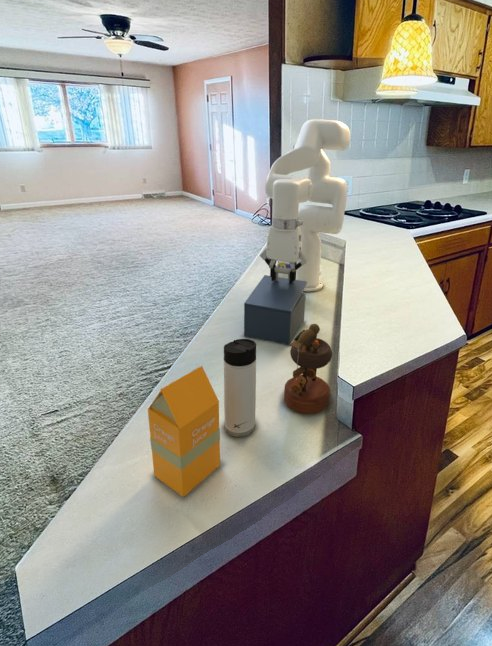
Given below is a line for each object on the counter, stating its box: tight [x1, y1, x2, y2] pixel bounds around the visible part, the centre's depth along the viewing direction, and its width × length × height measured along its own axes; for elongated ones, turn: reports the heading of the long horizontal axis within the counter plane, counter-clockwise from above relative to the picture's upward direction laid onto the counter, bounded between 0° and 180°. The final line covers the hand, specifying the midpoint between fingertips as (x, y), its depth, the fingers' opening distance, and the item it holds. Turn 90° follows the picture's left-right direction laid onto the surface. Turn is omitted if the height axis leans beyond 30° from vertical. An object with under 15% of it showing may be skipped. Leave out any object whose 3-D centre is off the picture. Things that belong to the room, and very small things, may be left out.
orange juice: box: [147, 365, 221, 498], centre depth 70 cm, size 8×9×20 cm
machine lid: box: [243, 267, 307, 313], centre depth 121 cm, size 17×14×6 cm
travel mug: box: [223, 338, 257, 438], centre depth 81 cm, size 6×7×20 cm
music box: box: [283, 323, 333, 415], centre depth 92 cm, size 15×11×20 cm
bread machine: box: [243, 292, 307, 346], centre depth 124 cm, size 16×14×10 cm
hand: (282, 280), depth 126 cm, fingers closed on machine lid, 5 cm apart
